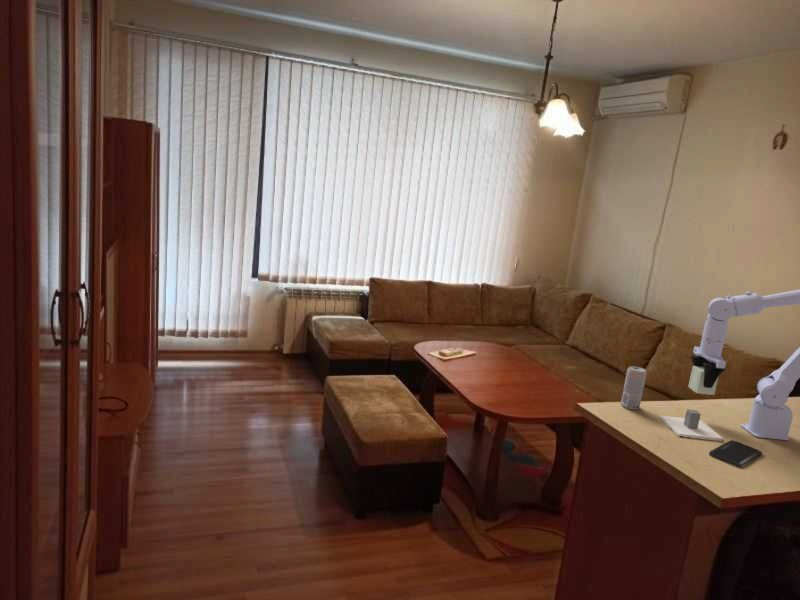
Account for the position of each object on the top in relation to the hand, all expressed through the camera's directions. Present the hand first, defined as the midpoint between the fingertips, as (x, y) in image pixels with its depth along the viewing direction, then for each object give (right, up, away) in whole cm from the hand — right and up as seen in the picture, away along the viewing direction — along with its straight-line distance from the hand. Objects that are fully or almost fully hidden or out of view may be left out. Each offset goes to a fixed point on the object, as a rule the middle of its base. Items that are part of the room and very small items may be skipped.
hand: (702, 383), depth 169 cm
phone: (-3, -16, -21) cm, 26 cm away
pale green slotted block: (0, -2, 0) cm, 2 cm away
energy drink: (-19, -8, +5) cm, 21 cm away
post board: (-8, -12, -8) cm, 16 cm away
